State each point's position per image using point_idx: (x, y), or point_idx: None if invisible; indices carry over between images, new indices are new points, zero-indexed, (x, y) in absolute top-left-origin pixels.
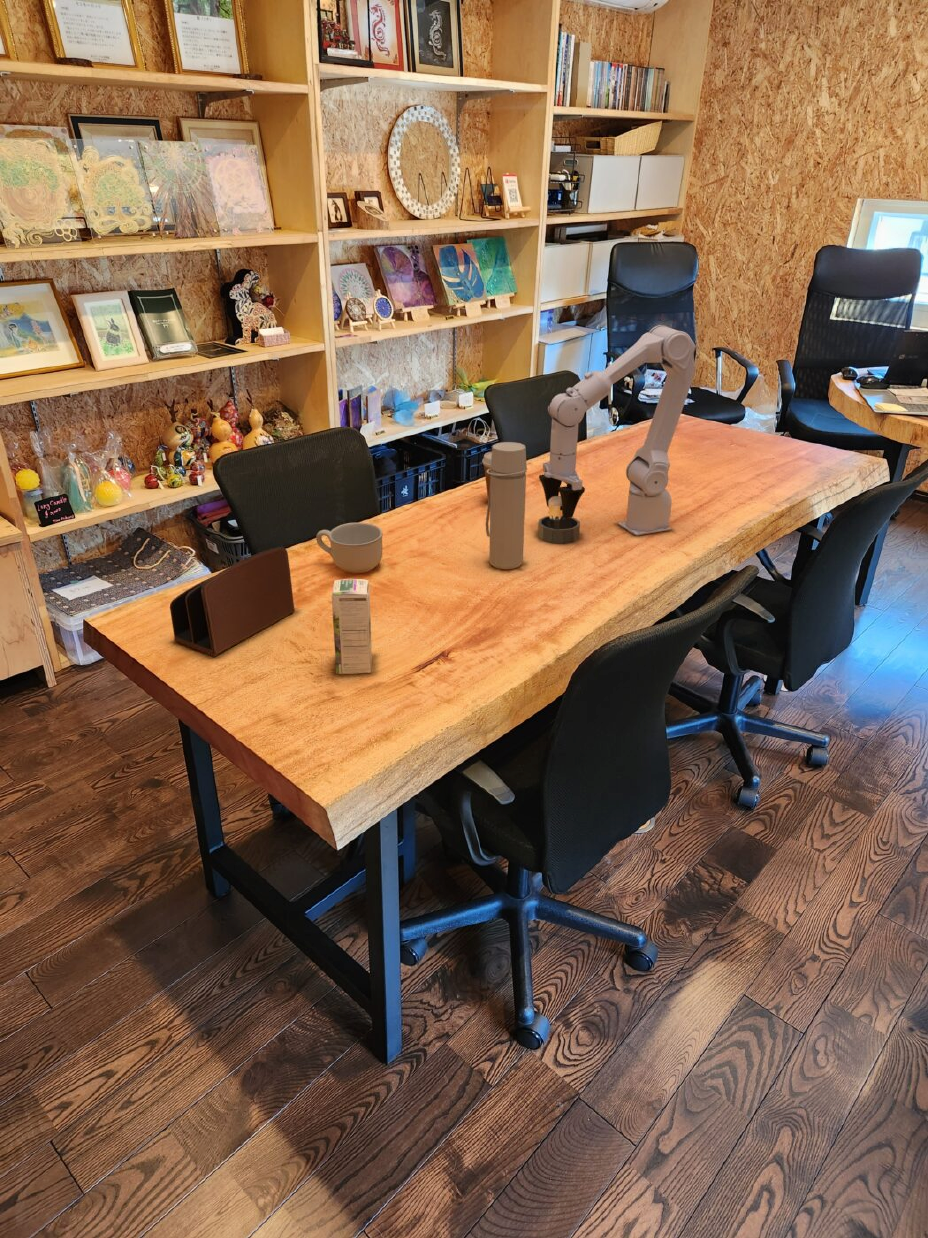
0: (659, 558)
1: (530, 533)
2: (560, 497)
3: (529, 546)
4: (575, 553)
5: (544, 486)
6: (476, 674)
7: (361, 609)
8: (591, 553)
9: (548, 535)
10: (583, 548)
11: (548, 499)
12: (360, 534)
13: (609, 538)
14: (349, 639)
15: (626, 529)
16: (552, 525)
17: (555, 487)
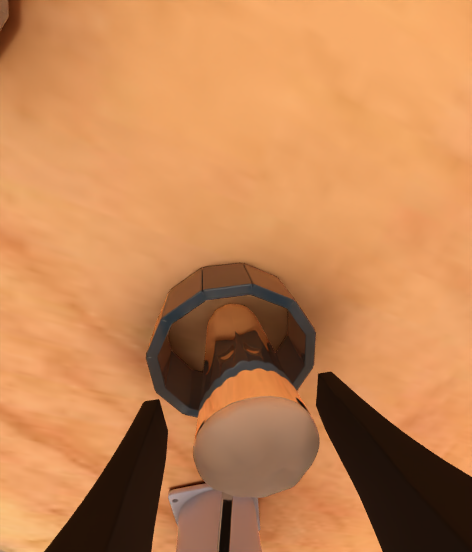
0: (11, 501)
1: (282, 247)
2: (259, 485)
3: (155, 195)
4: (61, 333)
5: (423, 480)
6: None
7: None
8: (57, 376)
9: (181, 291)
10: (104, 366)
11: (340, 406)
12: None
13: (170, 440)
14: None
15: None
16: (222, 331)
17: (381, 516)
